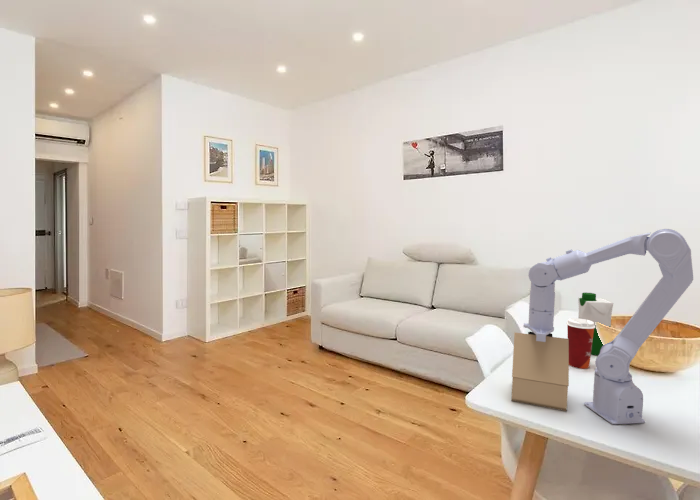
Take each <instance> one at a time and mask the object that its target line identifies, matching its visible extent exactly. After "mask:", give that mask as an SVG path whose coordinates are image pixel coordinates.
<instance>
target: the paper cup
mask: <svg viewBox="0 0 700 500" xmlns="http://www.w3.org/2000/svg"><path fill="white" fill-rule="evenodd" d="M566 325H567V339H569V366H570V367H572V368H575V369H581V370H586V369H589V368H590V363H591V356H592V355H591V349H592V341H593V333H594V328H595V325H594V322H593V321H590V320H586V319H579V318H577V317H573V318H568V320H567V322H566Z"/></svg>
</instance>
